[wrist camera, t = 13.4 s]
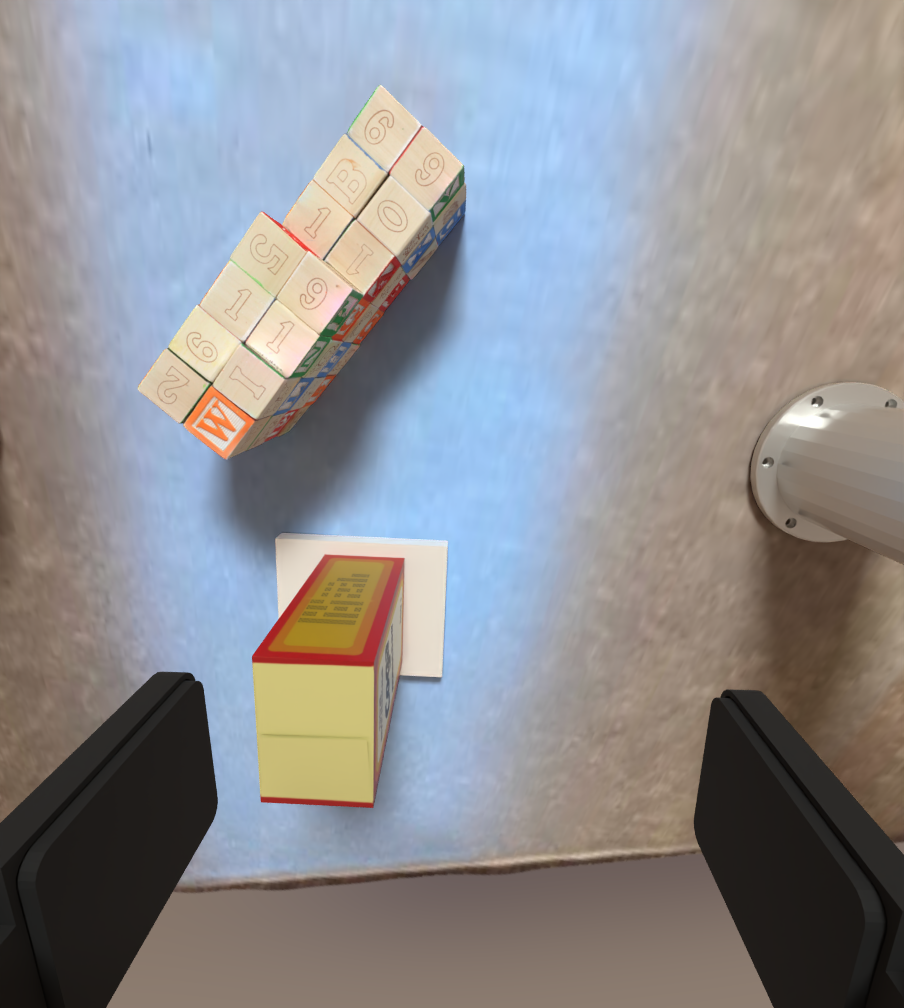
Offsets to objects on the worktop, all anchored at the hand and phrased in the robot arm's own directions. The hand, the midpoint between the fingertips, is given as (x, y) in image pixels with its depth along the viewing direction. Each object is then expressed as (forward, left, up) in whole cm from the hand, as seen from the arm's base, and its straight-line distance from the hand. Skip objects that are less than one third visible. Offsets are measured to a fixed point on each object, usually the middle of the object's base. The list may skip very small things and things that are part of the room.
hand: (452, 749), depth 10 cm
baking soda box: (+7, +14, -33) cm, 36 cm away
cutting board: (+8, +14, -34) cm, 37 cm away
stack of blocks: (+9, -11, -34) cm, 37 cm away
